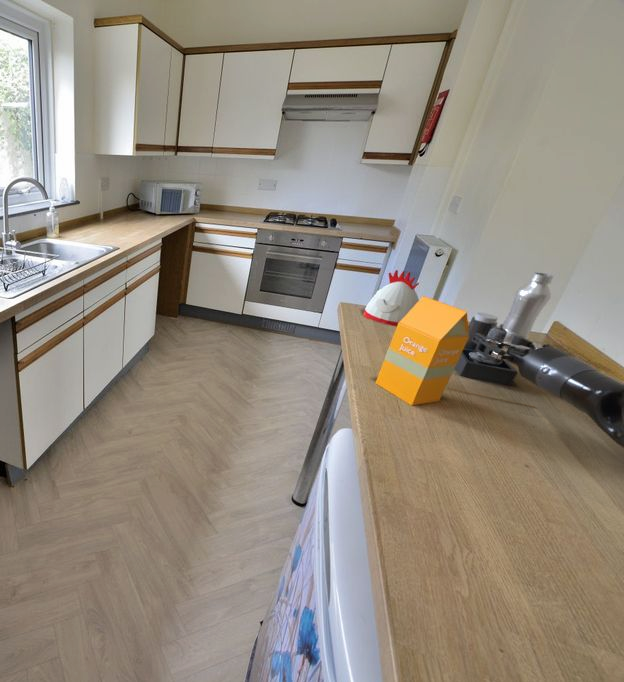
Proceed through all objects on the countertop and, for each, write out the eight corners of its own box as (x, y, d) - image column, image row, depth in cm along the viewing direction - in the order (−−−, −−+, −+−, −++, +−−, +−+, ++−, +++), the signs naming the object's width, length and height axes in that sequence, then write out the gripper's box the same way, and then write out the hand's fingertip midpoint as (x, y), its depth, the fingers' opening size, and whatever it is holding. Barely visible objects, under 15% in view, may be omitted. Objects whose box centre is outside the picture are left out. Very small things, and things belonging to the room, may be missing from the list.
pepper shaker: (475, 355, 103) (495, 314, 98) (482, 363, 99) (503, 321, 94) (453, 351, 105) (471, 310, 100) (458, 358, 101) (478, 317, 96)
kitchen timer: (376, 308, 134) (392, 263, 127) (423, 322, 124) (443, 274, 117) (355, 315, 127) (370, 268, 120) (403, 331, 117) (423, 281, 110)
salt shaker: (491, 380, 91) (517, 331, 86) (459, 369, 95) (482, 322, 90) (497, 372, 95) (522, 325, 89) (466, 362, 99) (488, 316, 93)
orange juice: (411, 405, 82) (451, 312, 73) (374, 383, 89) (407, 296, 81) (440, 401, 84) (482, 310, 75) (401, 379, 91) (436, 294, 83)
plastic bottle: (500, 349, 108) (537, 276, 100) (486, 339, 114) (520, 269, 106) (528, 353, 107) (569, 279, 98) (512, 342, 113) (549, 272, 104)
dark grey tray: (482, 356, 104) (489, 341, 103) (509, 388, 90) (518, 372, 88) (440, 348, 108) (446, 334, 106) (459, 377, 93) (466, 362, 91)
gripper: (511, 388, 79) (454, 350, 93) (589, 394, 78) (519, 355, 93) (530, 354, 76) (468, 320, 90) (611, 359, 75) (536, 325, 89)
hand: (494, 338), depth 91 cm, fingers open, 8 cm apart
